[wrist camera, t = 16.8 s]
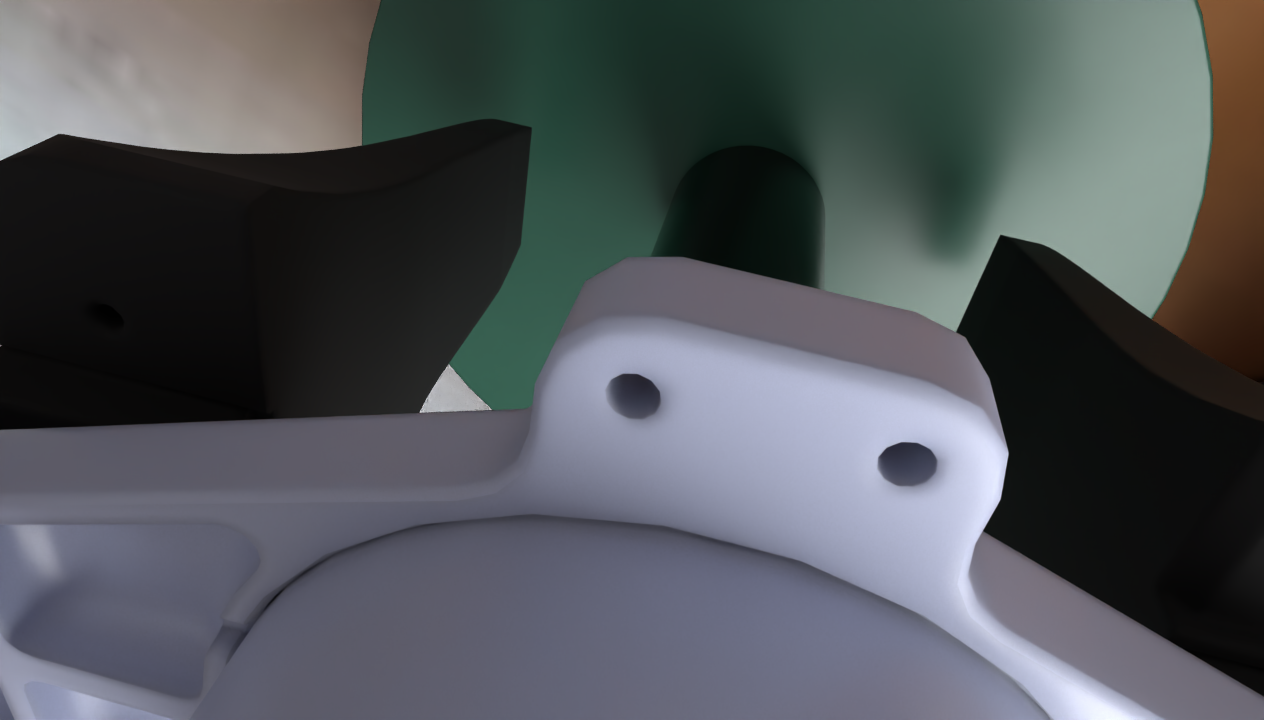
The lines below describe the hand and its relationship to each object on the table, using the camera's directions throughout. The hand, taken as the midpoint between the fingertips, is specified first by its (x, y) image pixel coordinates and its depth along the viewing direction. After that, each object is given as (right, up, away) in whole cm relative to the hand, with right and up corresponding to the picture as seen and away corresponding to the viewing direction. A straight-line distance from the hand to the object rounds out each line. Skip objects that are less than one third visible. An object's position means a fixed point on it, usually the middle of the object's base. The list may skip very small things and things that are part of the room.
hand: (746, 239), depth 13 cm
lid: (0, +1, +2) cm, 2 cm away
